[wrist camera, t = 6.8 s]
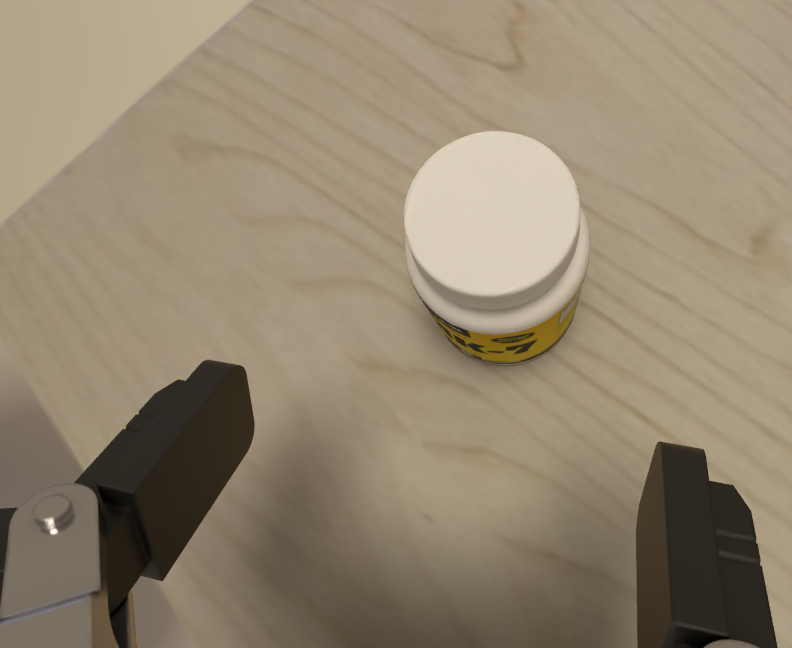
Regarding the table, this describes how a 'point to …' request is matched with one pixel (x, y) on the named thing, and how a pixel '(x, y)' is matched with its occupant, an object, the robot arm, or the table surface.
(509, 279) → the supplement bottle
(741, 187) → the table surface
